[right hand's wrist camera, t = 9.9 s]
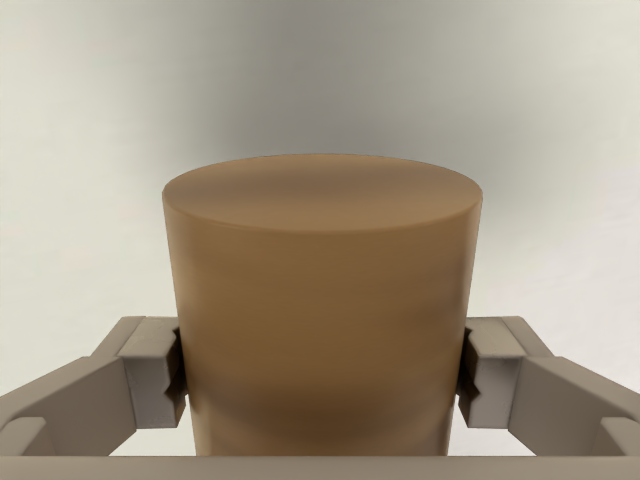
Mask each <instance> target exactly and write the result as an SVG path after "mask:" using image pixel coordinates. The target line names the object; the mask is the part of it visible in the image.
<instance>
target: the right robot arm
mask: <svg viewBox="0 0 640 480" xmlns="http://www.w3.org/2000/svg"><path fill="white" fill-rule="evenodd" d="M187 394H188V388H187V381H186V373H185V366H184V358H183V351H182V343H181V336H180V328H179V321H178V317H152V316H148V317H146V316H126V317H122V318H121V319H120V320H119V321H118V323H117V324H116V325H115V326H114V327H113V329H112V330H111V331H110V332H109V334H108V335H107V336H106V337H105V339H104V340H103V341H102V342H101V343H100V345H99V346H98V347H97V348H96V350H95V351H94V352H93V353H92V355H91V356H90V357H81V358H79V359H77V360H75V361H73V362H71V363H69V364H67V365H65V366H63V367H61V368H58V369H56V370H54V371H52V372H50V373H48V374H46V375H44V376H42V377H40V378H38V379H36V380H34V381H32V382H30V383H28V384H26V385H24V386H22V387H19V388H17V389H15V390H13V391H11V392H9V393H7V394H5V395H3V396H1V397H0V480H640V394H638V393H636V392H634V391H632V390H630V389H628V388H626V387H624V386H622V385H620V384H618V383H615V382H613V381H611V380H609V379H607V378H605V377H603V376H601V375H599V374H597V373H595V372H593V371H591V370H589V369H587V368H585V367H582V366H580V365H578V364H576V363H574V362H572V361H570V360H568V359H566V358H564V357H555V356H554V355H553V354H552V352H551V351H550V350H549V349H548V348H547V346H546V345H545V344H544V343H543V342H542V340H541V339H540V338H539V337H538V336H537V334H536V333H535V332H534V331H533V330H532V328H531V327H530V326H529V325H528V324H527V322H526V321H525V320H524V319H523V318H522V317H520V316H503V317H466V323H465V331H464V338H463V345H462V352H461V360H460V367H459V374H458V381H457V389H456V394H457V395H459V404H458V406H459V408H460V411H461V413H462V415H463V418H464V420H465V422H466V425H467V427H468V428H490V429H508V431H509V432H510V433H511V434H512V435H513V436H515V437H516V438H517V439H518V440H519V441H520V442H522V443H523V444H524V445H525V446H526V447H527V448H528V449H530V450H531V451H532V452H533V453H534V454H535V455H537V456H108V455H110V454H111V453H112V452H113V451H114V450H115V449H116V448H118V447H119V446H120V445H121V444H122V443H123V442H125V441H126V440H127V439H128V438H129V437H130V436H131V435H133V434H134V433H135V432H136V429H154V428H177V426H178V424H179V421H180V419H181V416H182V414H183V411H184V409H185V406H186V402H185V396H186V395H187Z"/></svg>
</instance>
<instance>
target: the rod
mask: <svg viewBox="0 0 640 480" xmlns="http://www.w3.org/2000/svg"><path fill="white" fill-rule="evenodd" d="M162 200H163V208H164V215H165V223H166V231H167V238H168V246H169V253H170V261H171V268H172V276H173V283H174V291H175V298H176V306H177V313H178V321H179V328H180V336H181V343H182V351H183V358H184V366H185V373H186V381H187V388H188V396H189V403H190V411H191V418H192V426H193V433H194V441H195V448H196V456H447V454H448V447H449V440H450V432H451V425H452V418H453V410H454V403H455V396H456V389H457V381H458V374H459V367H460V360H461V352H462V345H463V338H464V331H465V323H466V316H467V309H468V302H469V294H470V287H471V280H472V272H473V265H474V258H475V251H476V243H477V236H478V229H479V222H480V214H481V207H482V200H483V193H482V190H481V188H480V187H479V185H478V184H477V183H475V182H474V181H473V180H471V179H470V178H468V177H466V176H464V175H462V174H460V173H457V172H455V171H452V170H449V169H446V168H443V167H439V166H435V165H431V164H426V163H422V162H416V161H411V160H404V159H397V158H389V157H380V156H368V155H351V154H292V155H275V156H263V157H254V158H246V159H239V160H233V161H227V162H222V163H217V164H213V165H208V166H205V167H201V168H198V169H195V170H192V171H189V172H187V173H184V174H182V175H180V176H178V177H176V178H174V179H173V180H171V181H170V182H169V183H168V184H167V185H166V186H165V187H164V189H163V192H162Z"/></svg>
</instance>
